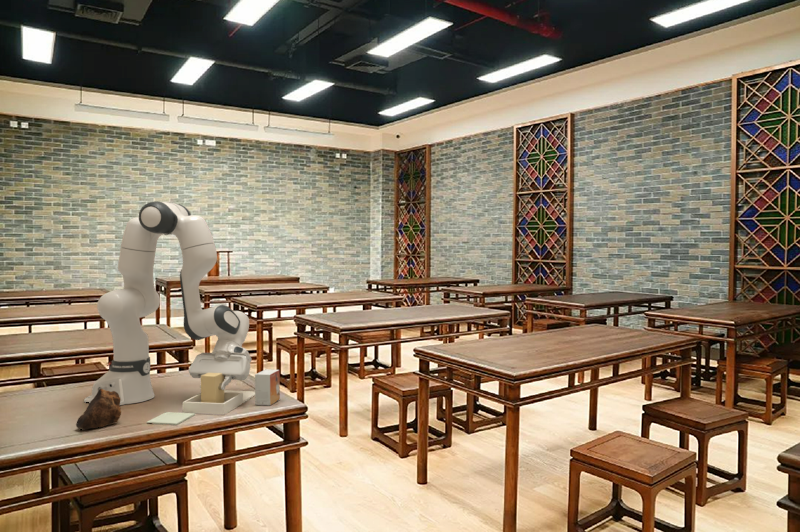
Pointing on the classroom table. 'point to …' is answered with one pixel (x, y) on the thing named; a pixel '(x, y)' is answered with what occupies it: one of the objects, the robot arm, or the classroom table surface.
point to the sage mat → (171, 418)
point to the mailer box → (230, 402)
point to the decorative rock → (101, 411)
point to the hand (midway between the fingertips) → (211, 388)
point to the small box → (267, 387)
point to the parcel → (212, 388)
